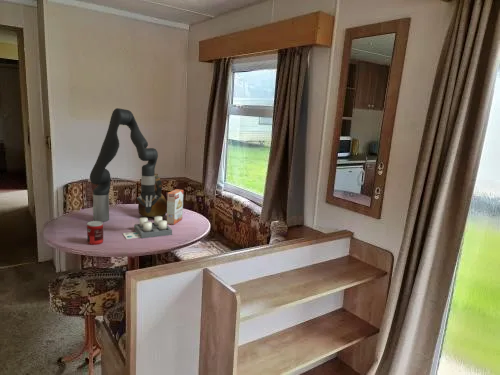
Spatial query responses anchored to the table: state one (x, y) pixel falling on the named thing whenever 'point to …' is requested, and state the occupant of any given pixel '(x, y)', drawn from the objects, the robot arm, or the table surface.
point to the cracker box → (174, 206)
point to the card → (131, 235)
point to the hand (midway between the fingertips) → (148, 212)
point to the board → (154, 232)
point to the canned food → (95, 232)
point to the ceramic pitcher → (159, 206)
